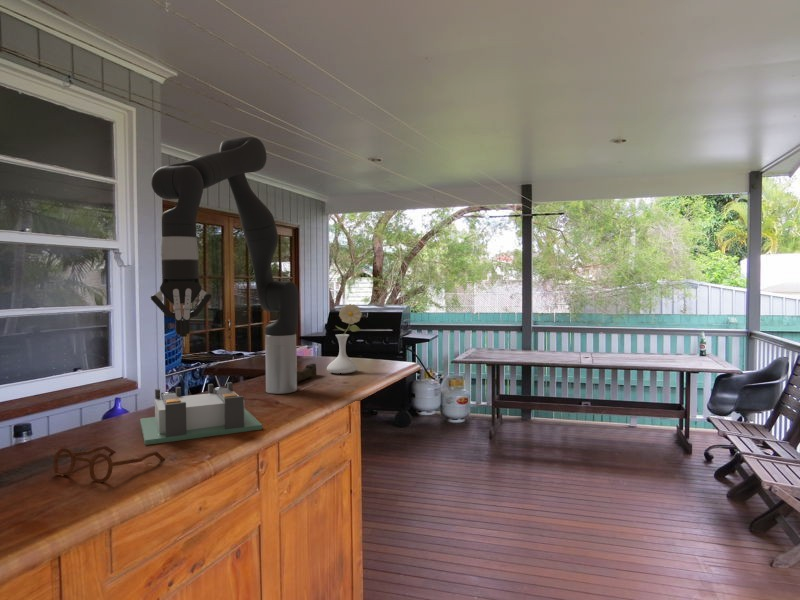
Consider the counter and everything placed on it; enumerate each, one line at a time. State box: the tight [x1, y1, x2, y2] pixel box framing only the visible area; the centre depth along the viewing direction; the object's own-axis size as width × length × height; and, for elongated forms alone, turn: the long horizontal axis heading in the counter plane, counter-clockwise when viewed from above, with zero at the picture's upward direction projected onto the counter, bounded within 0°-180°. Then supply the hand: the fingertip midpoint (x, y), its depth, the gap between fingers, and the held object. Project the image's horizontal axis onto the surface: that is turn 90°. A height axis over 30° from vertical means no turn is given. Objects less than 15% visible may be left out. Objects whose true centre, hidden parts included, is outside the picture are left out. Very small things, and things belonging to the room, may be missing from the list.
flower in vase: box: [326, 303, 363, 374], centre depth 194 cm, size 13×11×25 cm
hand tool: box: [297, 363, 317, 384], centre depth 181 cm, size 19×4×5 cm, turn 161°
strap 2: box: [213, 386, 238, 401], centre depth 127 cm, size 16×3×2 cm, turn 28°
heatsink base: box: [139, 381, 263, 446], centre depth 124 cm, size 20×24×8 cm
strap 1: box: [160, 391, 181, 404], centre depth 121 cm, size 16×3×2 cm, turn 28°
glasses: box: [52, 445, 166, 483], centre depth 98 cm, size 13×13×5 cm
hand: (182, 336), depth 119 cm, fingers closed
